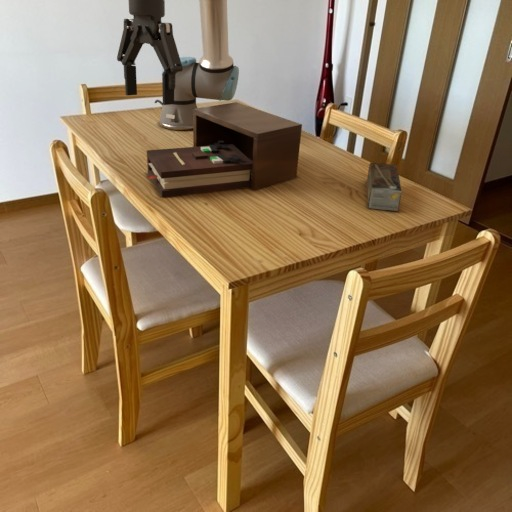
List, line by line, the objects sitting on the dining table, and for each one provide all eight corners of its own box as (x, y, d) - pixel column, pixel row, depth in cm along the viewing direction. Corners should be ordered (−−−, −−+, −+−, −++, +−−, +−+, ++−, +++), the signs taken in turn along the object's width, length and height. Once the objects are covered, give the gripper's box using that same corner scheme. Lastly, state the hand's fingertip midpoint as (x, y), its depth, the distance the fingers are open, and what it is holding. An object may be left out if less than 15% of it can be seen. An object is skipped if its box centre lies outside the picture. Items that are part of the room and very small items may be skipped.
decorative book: (136, 146, 133) (238, 139, 144) (138, 172, 137) (237, 163, 148) (152, 171, 118) (264, 161, 129) (154, 200, 122) (262, 187, 133)
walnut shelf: (193, 160, 148) (193, 108, 140) (234, 150, 158) (236, 102, 150) (254, 190, 131) (258, 133, 123) (296, 177, 141) (302, 124, 133)
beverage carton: (366, 208, 125) (371, 184, 121) (365, 181, 141) (369, 159, 138) (398, 212, 124) (403, 188, 120) (393, 184, 140) (398, 163, 137)
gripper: (97, -8, 107) (104, 92, 116) (171, -4, 93) (172, 110, 102) (125, -6, 112) (130, 90, 121) (200, -1, 98) (198, 107, 107)
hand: (149, 99), depth 112 cm, fingers open, 13 cm apart
